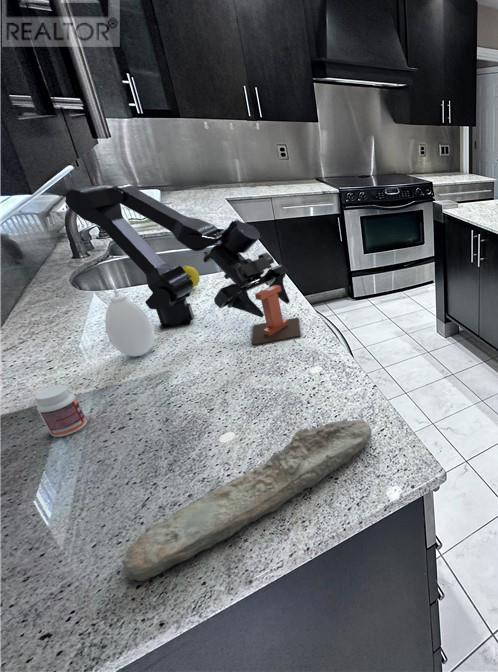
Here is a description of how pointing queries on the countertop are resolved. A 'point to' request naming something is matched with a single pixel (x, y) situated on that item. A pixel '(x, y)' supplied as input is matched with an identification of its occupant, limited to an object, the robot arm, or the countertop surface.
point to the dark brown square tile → (282, 334)
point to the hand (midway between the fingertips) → (276, 309)
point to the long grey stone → (245, 498)
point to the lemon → (192, 274)
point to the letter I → (271, 309)
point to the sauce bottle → (128, 326)
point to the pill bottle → (60, 411)
